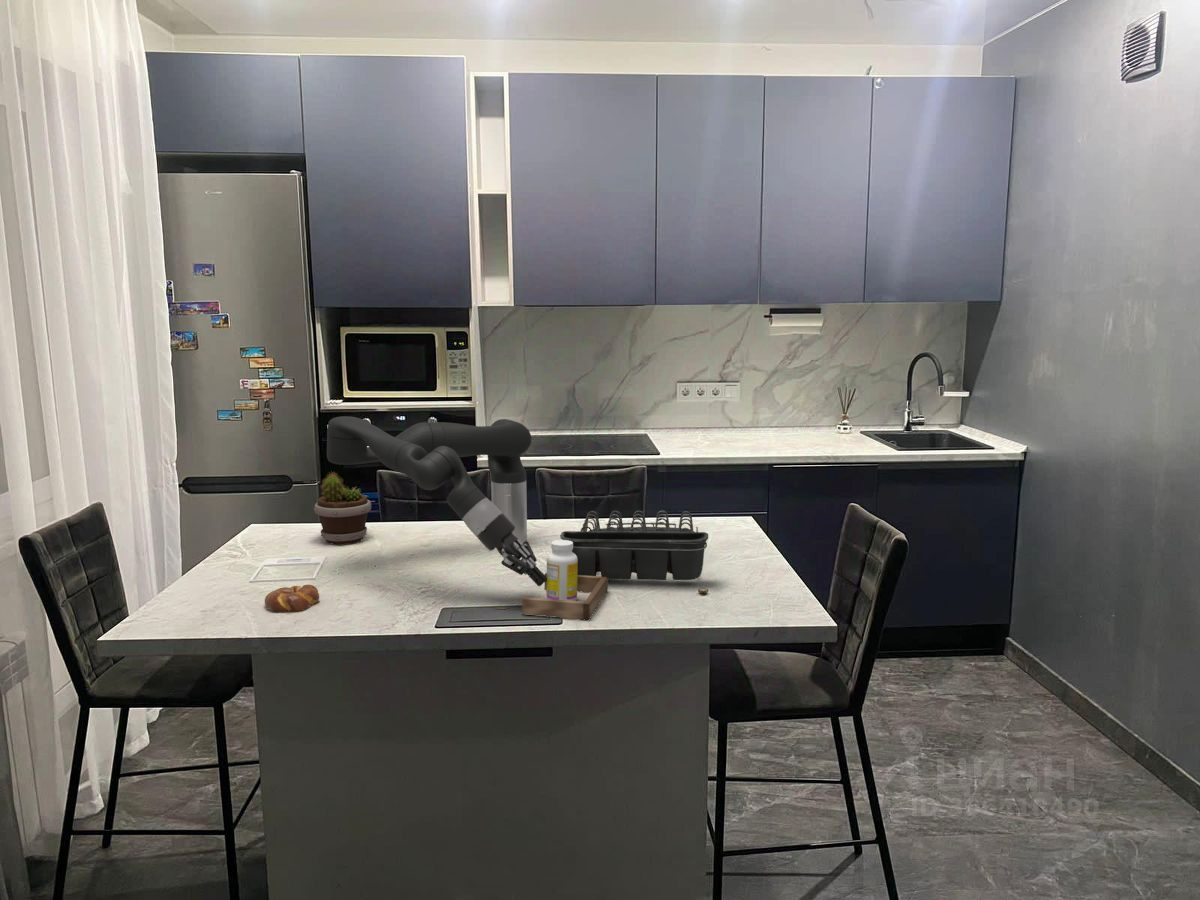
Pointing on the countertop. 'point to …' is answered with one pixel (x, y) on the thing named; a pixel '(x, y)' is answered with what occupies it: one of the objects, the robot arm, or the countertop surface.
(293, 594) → the pretzel
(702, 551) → the dish rack
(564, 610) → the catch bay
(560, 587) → the supplement bottle
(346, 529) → the flowerpot
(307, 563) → the photo frame
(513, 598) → the countertop surface
